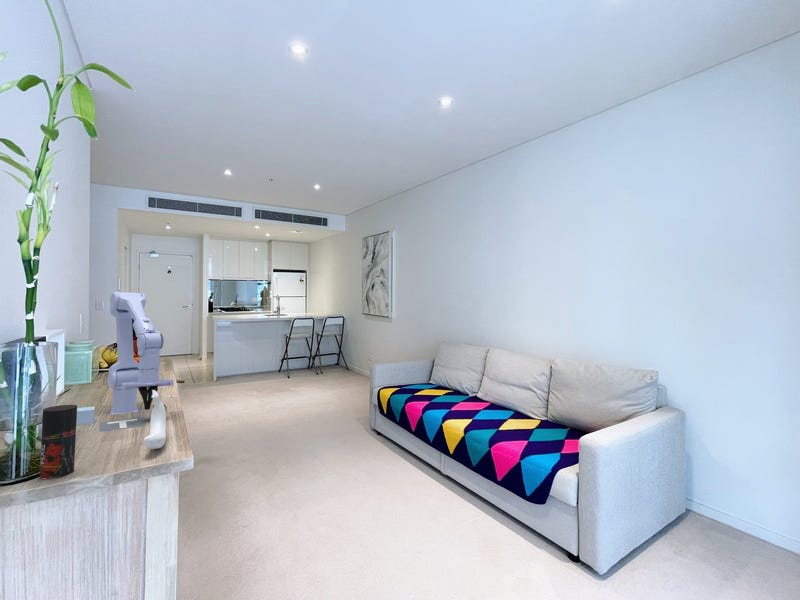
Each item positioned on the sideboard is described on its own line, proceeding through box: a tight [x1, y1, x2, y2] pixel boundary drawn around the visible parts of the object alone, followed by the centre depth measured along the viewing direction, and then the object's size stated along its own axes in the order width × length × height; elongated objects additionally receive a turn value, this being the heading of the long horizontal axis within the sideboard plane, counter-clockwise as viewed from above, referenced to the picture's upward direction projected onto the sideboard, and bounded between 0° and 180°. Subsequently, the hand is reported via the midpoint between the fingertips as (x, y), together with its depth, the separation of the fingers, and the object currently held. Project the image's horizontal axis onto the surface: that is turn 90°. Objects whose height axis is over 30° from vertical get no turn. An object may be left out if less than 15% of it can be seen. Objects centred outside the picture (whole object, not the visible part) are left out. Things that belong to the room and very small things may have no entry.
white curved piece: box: [142, 390, 167, 450], centre depth 106 cm, size 5×19×15 cm, turn 30°
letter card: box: [98, 416, 147, 433], centre depth 124 cm, size 12×12×1 cm
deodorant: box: [39, 404, 78, 480], centre depth 88 cm, size 6×6×15 cm
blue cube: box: [76, 406, 96, 426], centre depth 125 cm, size 5×5×5 cm
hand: (147, 409), depth 129 cm, fingers closed
